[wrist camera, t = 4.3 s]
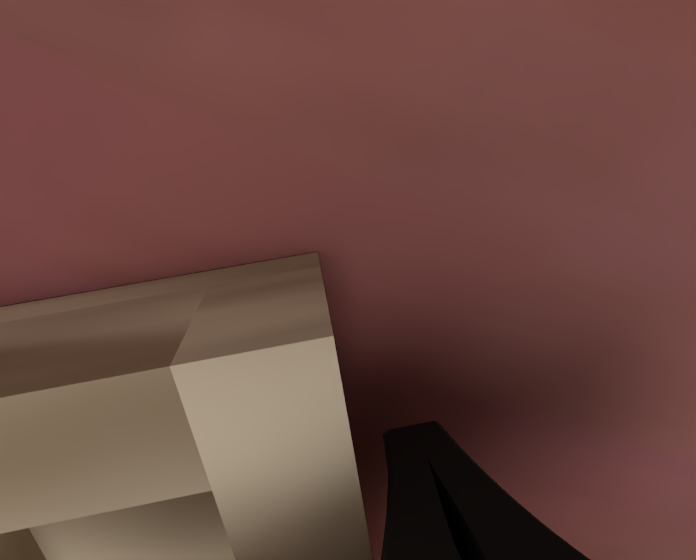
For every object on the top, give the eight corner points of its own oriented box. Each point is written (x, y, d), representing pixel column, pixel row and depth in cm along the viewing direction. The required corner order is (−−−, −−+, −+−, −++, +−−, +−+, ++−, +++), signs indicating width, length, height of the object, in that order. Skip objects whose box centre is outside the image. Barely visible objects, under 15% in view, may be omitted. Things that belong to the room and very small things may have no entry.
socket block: (372, 561, 13) (403, 731, 10) (36, 634, 13) (-68, 846, 9) (317, 252, 10) (333, 336, 6) (-155, 334, 9) (-457, 483, 5)
